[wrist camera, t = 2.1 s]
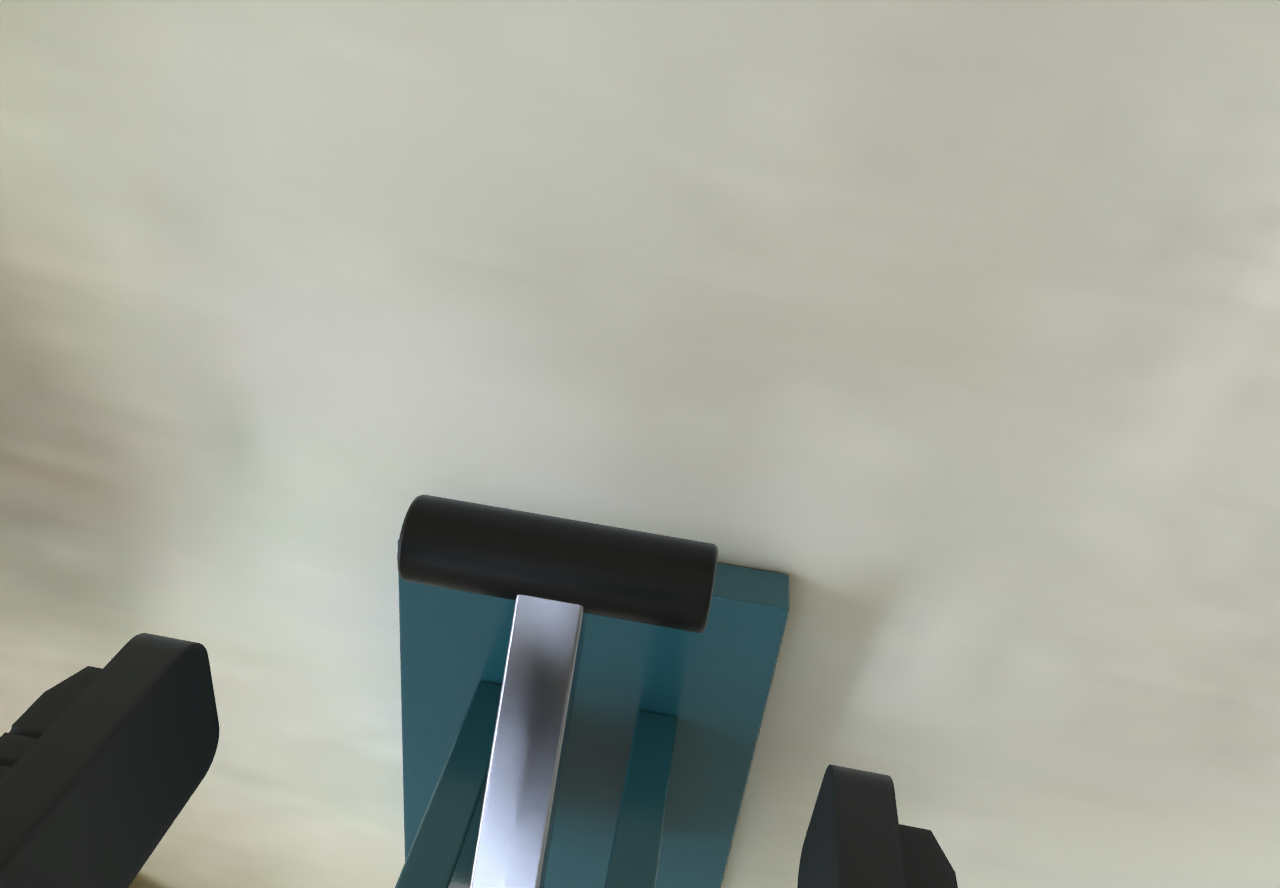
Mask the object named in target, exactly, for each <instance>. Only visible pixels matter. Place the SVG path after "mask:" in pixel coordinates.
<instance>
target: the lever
mask: <svg viewBox="0 0 1280 888" xmlns="http://www.w3.org/2000/svg"><path fill="white" fill-rule="evenodd" d="M717 558H718V549H717V546H715V545H714V544H710V543H704V542H698V541H692V540H687V539H681V538H675V537H669V536H663V535H657V534H652V533H646V532H640V531H634V530H628V529H622V528H616V527H611V526H605V525H599V524H593V523H587V522H581V521H575V520H570V519H564V518H558V517H552V516H546V515H540V514H535V513H529V512H523V511H517V510H511V509H505V508H499V507H494V506H488V505H482V504H476V503H470V502H464V501H458V500H453V499H447V498H441V497H435V496H429V495H421V496H418V497H416V498H415V499H414V501H413V502H412V504H411V505H410V507H409V509H408V511H407V514H406V516H405V519H404V522H403V525H402V529H401V533H400V538H399V544H398V556H397V559H398V571H399V574H400V577H401V578H402V579H404V580H405V581H408V582H413V583H419V584H425V585H430V586H436V587H442V588H447V589H453V590H459V591H464V592H470V593H476V594H481V595H487V596H493V597H498V598H504V599H509V600H515V606H514V613H513V619H512V625H511V631H510V638H509V644H508V650H507V656H506V663H505V669H504V675H503V682H502V688H501V694H500V700H499V707H498V713H497V719H496V726H495V732H494V738H493V744H492V751H491V757H490V763H489V769H488V776H487V782H486V788H485V795H484V801H483V807H482V813H481V820H480V826H479V832H478V839H477V845H476V851H475V857H474V864H473V870H472V876H471V882H470V888H544V882H545V876H546V870H547V864H548V858H549V851H550V845H551V839H552V833H553V827H554V820H555V814H556V808H557V802H558V796H559V790H560V783H561V777H562V771H563V765H564V759H565V753H566V746H567V740H568V734H569V728H570V722H571V716H572V709H573V703H574V697H575V691H576V685H577V679H578V672H579V666H580V660H581V654H582V648H583V641H584V635H585V629H586V623H587V617H588V613H589V614H594V615H600V616H605V617H611V618H617V619H622V620H628V621H634V622H639V623H645V624H651V625H656V626H662V627H668V628H673V629H679V630H684V631H690V632H696V633H701V632H703V631H704V630H705V628H706V625H707V621H708V616H709V610H710V605H711V599H712V593H713V587H714V580H715V573H716V566H717Z"/></svg>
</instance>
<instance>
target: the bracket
mask: <svg viewBox="0 0 1280 888" xmlns="http://www.w3.org/2000/svg"><path fill="white" fill-rule="evenodd" d="M398 544H399V540H398ZM514 606H515V600H509V599H504V598H498V597H493V596H487V595H481V594H476V593H470V592H464V591H459V590H453V589H447V588H442V587H436V586H430V585H425V584H419V583H413V582H408V581H405V580H404V579H402V578H401V577H400V574H399V613H400V657H401V700H402V744H403V787H404V831H405V864H404V867H403V869H402V872H401V874H400V877H399V879H398V882H397V884H396V887H395V888H470V882H471V876H472V870H473V864H474V857H475V851H476V845H477V839H478V832H479V826H480V820H481V813H482V807H483V801H484V795H485V788H486V782H487V776H488V769H489V763H490V757H491V751H492V744H493V738H494V732H495V726H496V719H497V713H498V707H499V700H500V694H501V688H502V682H503V675H504V669H505V663H506V656H507V650H508V644H509V638H510V631H511V625H512V619H513V613H514ZM788 613H789V576H788V575H786V574H780V573H774V572H769V571H763V570H757V569H751V568H745V567H740V566H734V565H728V564H722V563H717V566H716V573H715V580H714V587H713V593H712V599H711V605H710V610H709V616H708V621H707V625H706V628H705V630H704V631H703V632H701V633H696V632H690V631H684V630H679V629H673V628H668V627H662V626H656V625H651V624H645V623H639V622H634V621H628V620H622V619H617V618H611V617H605V616H600V615H594V614H589V613H588V617H587V623H586V629H585V635H584V641H583V648H582V654H581V660H580V666H579V672H578V679H577V685H576V691H575V697H574V703H573V709H572V716H571V722H570V728H569V734H568V740H567V746H566V753H565V759H564V765H563V771H562V777H561V783H560V790H559V796H558V802H557V808H556V814H555V820H554V827H553V833H552V839H551V845H550V851H549V858H548V864H547V870H546V876H545V882H544V888H721V885H722V881H723V877H724V873H725V869H726V865H727V861H728V857H729V852H730V848H731V844H732V840H733V836H734V832H735V828H736V824H737V820H738V816H739V812H740V808H741V804H742V800H743V796H744V792H745V787H746V783H747V779H748V775H749V771H750V767H751V763H752V759H753V755H754V751H755V747H756V743H757V739H758V735H759V731H760V727H761V723H762V718H763V714H764V710H765V706H766V702H767V698H768V694H769V690H770V686H771V682H772V678H773V674H774V670H775V666H776V662H777V658H778V653H779V649H780V645H781V641H782V637H783V633H784V629H785V625H786V621H787V617H788Z"/></svg>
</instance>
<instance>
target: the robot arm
mask: <svg viewBox="0 0 1280 888" xmlns="http://www.w3.org/2000/svg"><path fill="white" fill-rule="evenodd" d="M218 739H219V722H218V716H217V709H216V703H215V697H214V690H213V684H212V678H211V671H210V665H209V659H208V654H207V651H206V648H205V647H204V646H203V645H202V644H200V643H195V642H190V641H184V640H179V639H174V638H169V637H163V636H158V635H153V634H147V633H142V634H139V635H137V636H135V637H133V638H132V639H131V640H130V641H129V642H128V643H127V644H126V645H125V646H124V647H123V648H122V649H121V650H120V651H119V652H118V653H117V654H116V656H115V657H114V658H113V659H112V660H111V661H110V662H109V663H108V664H107V665H106V666H105V667H104V668H103V669H101V668H95V667H90V666H88V667H86V668H84V669H83V670H81V671H79V672H78V673H76V674H74V675H73V676H71V677H69V678H68V679H66V680H64V681H62V682H61V683H59V684H57V685H56V686H54V687H52V688H51V689H49V690H47V691H46V692H44V693H43V694H42V695H41V696H40V697H39V698H38V699H37V700H36V701H35V702H34V703H33V704H32V706H31V707H30V708H29V709H28V710H27V711H26V712H25V713H24V714H23V715H22V716H21V717H20V718H19V719H18V720H17V721H16V722H15V723H14V724H13V725H12V729H11V731H10V732H9V733H4V734H3V735H2V736H1V737H0V888H128V887H129V885H130V884H131V882H132V881H133V880H134V878H135V877H136V875H137V874H138V872H139V871H140V869H141V868H142V867H143V865H144V864H145V862H146V861H147V859H148V858H149V856H150V855H151V854H152V852H153V851H154V849H155V848H156V846H157V845H158V843H159V842H160V840H161V839H162V838H163V836H164V835H165V833H166V832H167V830H168V829H169V827H170V826H171V825H172V823H173V822H174V820H175V819H176V817H177V816H178V814H179V813H180V812H181V810H182V809H183V807H184V806H185V804H186V803H187V801H188V800H189V798H190V797H191V796H192V794H193V793H194V791H195V790H196V788H197V787H198V785H199V784H200V783H201V781H202V780H203V778H204V777H205V775H206V773H207V771H208V770H209V768H210V765H211V763H212V761H213V758H214V755H215V752H216V749H217V744H218ZM798 888H958V886H957V881H956V875H955V871H954V870H953V868H952V866H951V864H950V863H949V861H948V859H947V858H946V856H945V854H944V852H943V851H942V849H941V847H940V845H939V844H938V842H937V840H936V839H935V837H934V835H933V833H932V832H931V830H926V829H921V828H916V827H910V826H905V825H900V824H898V816H897V807H896V799H895V791H894V785H893V781H892V779H891V777H890V776H888V775H883V774H877V773H872V772H867V771H861V770H856V769H851V768H845V767H840V766H835V765H829V766H828V767H827V769H826V772H825V774H824V778H823V781H822V784H821V788H820V791H819V794H818V797H817V801H816V804H815V807H814V811H813V814H812V817H811V821H810V824H809V827H808V830H807V834H806V837H805V840H804V844H803V848H802V853H801V859H800V866H799V875H798Z"/></svg>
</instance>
